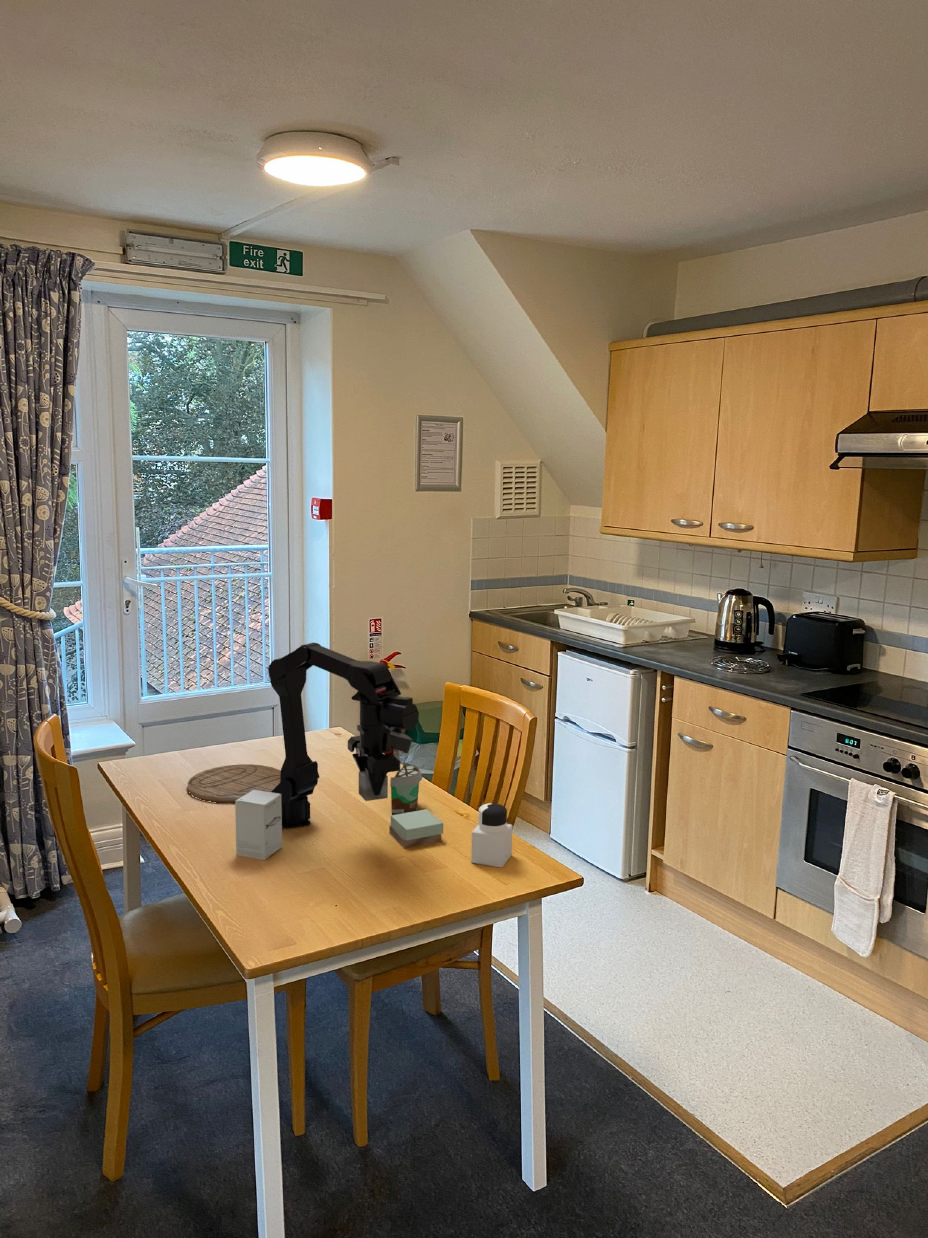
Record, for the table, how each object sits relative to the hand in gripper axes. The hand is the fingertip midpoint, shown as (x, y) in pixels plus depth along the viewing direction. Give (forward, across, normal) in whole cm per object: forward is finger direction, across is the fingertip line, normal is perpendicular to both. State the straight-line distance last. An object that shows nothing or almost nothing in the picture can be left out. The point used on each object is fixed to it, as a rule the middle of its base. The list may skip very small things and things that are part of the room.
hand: (373, 791), depth 204 cm
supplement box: (+13, +7, +24) cm, 28 cm away
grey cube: (+1, 0, 0) cm, 1 cm away
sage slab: (+11, +2, -11) cm, 16 cm away
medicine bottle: (+14, -15, -22) cm, 30 cm away
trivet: (+14, +49, +20) cm, 55 cm away
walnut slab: (+14, +2, -11) cm, 18 cm away
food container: (+13, +18, -15) cm, 27 cm away
